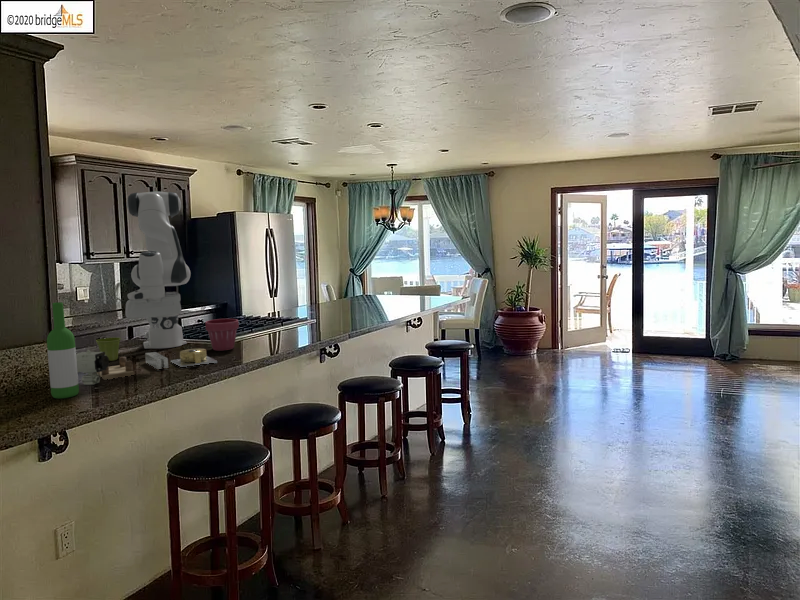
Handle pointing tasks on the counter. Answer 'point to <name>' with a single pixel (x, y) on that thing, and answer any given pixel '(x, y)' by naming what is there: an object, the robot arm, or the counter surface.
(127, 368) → the rack
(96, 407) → the counter surface
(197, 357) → the ring nut
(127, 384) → the counter surface
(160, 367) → the white bar
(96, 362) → the pneumatic valve
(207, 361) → the nut base
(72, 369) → the wine bottle
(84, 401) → the counter surface
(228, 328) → the plant pot
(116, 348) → the plant pot
